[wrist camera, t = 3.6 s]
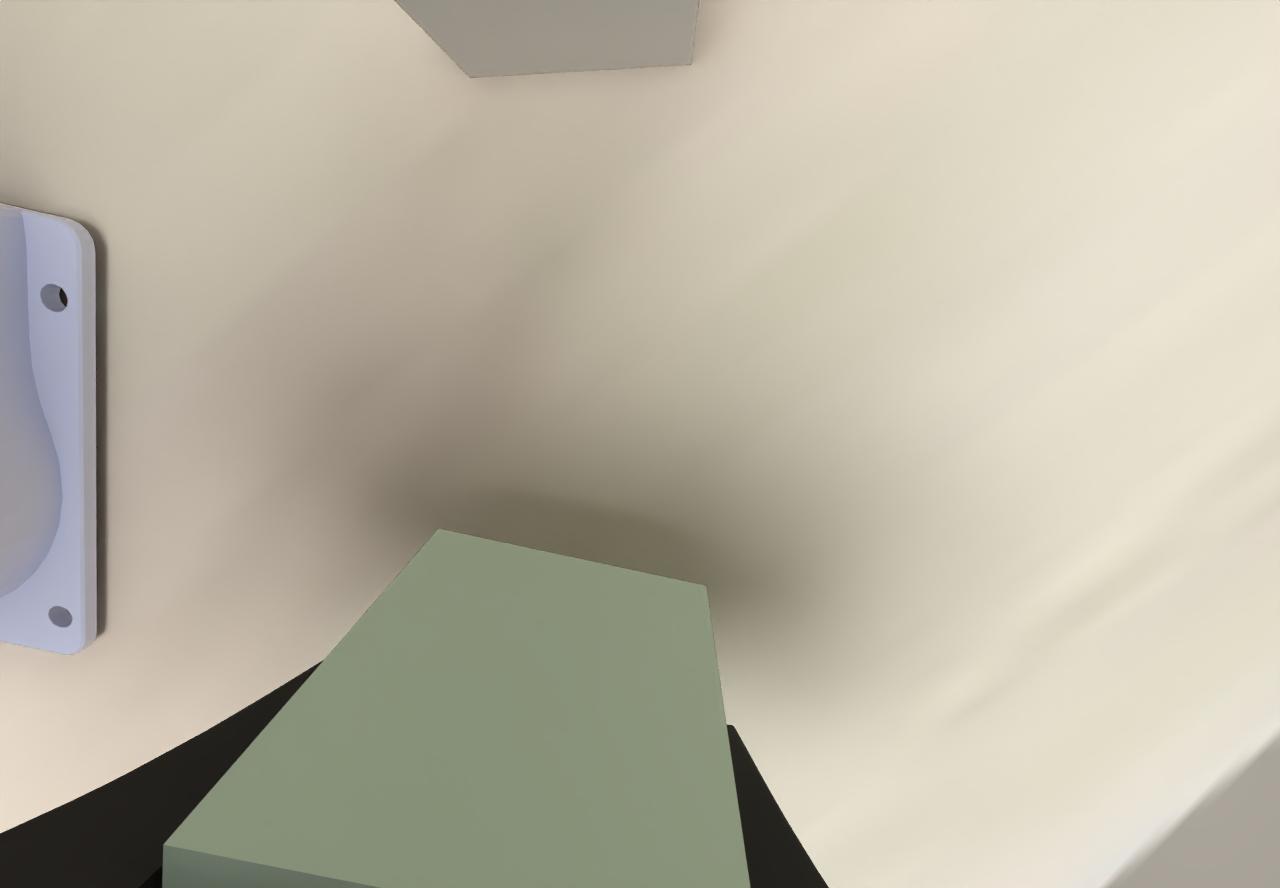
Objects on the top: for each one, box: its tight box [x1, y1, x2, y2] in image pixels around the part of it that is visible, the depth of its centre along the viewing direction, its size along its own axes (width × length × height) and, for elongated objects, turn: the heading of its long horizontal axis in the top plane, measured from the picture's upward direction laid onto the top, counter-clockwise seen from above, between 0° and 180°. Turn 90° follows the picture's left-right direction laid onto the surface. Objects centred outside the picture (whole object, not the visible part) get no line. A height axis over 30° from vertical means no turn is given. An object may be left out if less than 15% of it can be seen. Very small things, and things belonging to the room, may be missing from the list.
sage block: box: [162, 529, 750, 888], centre depth 8 cm, size 4×4×6 cm
